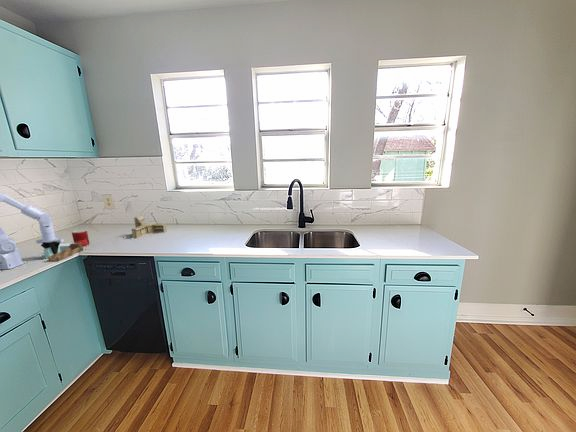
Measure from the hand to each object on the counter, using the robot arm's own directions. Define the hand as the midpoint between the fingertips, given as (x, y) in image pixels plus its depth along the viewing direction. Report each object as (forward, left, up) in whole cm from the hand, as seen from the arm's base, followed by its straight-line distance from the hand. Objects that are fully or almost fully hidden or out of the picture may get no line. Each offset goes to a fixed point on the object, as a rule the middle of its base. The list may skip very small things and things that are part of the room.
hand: (53, 253), depth 151 cm
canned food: (+19, -3, -2) cm, 19 cm away
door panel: (0, 0, -2) cm, 2 cm away
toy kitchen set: (+41, -39, -2) cm, 56 cm away
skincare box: (+9, +9, +1) cm, 12 cm away
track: (0, -8, -2) cm, 8 cm away
